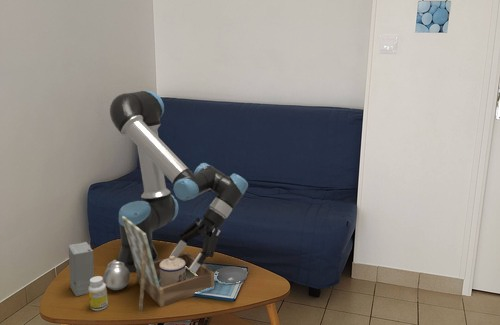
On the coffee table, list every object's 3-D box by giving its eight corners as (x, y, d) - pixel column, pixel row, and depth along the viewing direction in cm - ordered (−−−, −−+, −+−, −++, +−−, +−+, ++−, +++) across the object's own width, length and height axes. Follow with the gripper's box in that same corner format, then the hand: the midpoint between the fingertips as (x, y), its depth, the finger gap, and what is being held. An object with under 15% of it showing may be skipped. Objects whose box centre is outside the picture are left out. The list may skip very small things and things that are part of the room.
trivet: (207, 274, 169) (207, 272, 169) (235, 265, 176) (235, 263, 175) (225, 288, 159) (225, 285, 159) (253, 278, 166) (253, 275, 166)
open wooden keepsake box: (119, 289, 161) (113, 217, 154) (187, 268, 175) (184, 202, 169) (141, 315, 145) (135, 237, 138) (214, 290, 159) (212, 218, 153)
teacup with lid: (181, 295, 155) (179, 263, 152) (156, 292, 157) (153, 260, 154) (193, 278, 166) (192, 248, 163) (170, 275, 168) (168, 246, 166)
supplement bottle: (92, 302, 151) (89, 275, 149) (109, 301, 152) (107, 274, 149) (88, 311, 146) (85, 283, 144) (106, 310, 147) (103, 282, 144)
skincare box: (70, 287, 161) (65, 245, 157) (90, 281, 165) (86, 240, 161) (76, 297, 154) (71, 254, 150) (97, 291, 158) (93, 248, 154)
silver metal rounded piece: (134, 281, 165) (132, 255, 162) (127, 295, 156) (125, 267, 153) (109, 281, 165) (106, 255, 162) (100, 295, 156) (98, 268, 153)
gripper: (243, 229, 157) (207, 282, 152) (206, 209, 177) (173, 256, 172) (230, 218, 153) (192, 272, 148) (193, 199, 172) (159, 246, 168)
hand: (182, 264), depth 160 cm, fingers open, 13 cm apart
